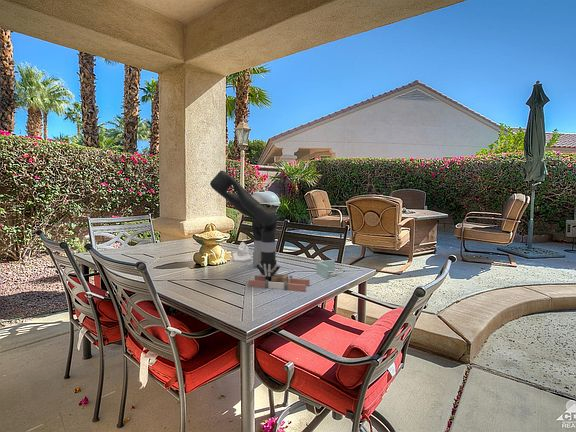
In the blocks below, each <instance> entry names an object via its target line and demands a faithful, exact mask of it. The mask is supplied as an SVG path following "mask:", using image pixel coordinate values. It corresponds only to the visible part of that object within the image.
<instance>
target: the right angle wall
mask: <svg viewBox="0 0 576 432" xmlns="http://www.w3.org/2000/svg"><path fill="white" fill-rule="evenodd" d="M315 266H316V271H315V273H316V274H317V275H319V276H320V277H322V278H324V279H326V280H328V279H329V277H330V278H331V277H334V278H335V277H336V275H337V273H336V259H329V260H327V259H326V260H320V261H316V265H315Z"/></svg>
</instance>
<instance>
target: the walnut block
mask: <svg viewBox="0 0 576 432" xmlns="http://www.w3.org/2000/svg"><path fill="white" fill-rule="evenodd" d="M288 278H289V274H279V273H275V274H274V276H273V277H272V282H281V283H284V281H287V283H288Z"/></svg>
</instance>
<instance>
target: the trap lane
mask: <svg viewBox="0 0 576 432" xmlns="http://www.w3.org/2000/svg"><path fill="white" fill-rule="evenodd" d="M274 275H275V274H274ZM274 275H273V276H274ZM273 276H271V282H269V281H268V280H265V276H264V275H262V274H261V275H258V274H254V279H248V280H247V283H248V285H247V286H248V287H252V286H253V287H254V288H264V289H276V290H284V291H294V292H295V291H296V292H306V291H307V286H308V287H310V286H311V285H310V279H309V278H308V279H306V278H293V275H288V283H287V281H284V283H281V282H272V277H273Z"/></svg>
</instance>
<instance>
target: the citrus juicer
mask: <svg viewBox="0 0 576 432" xmlns="http://www.w3.org/2000/svg"><path fill="white" fill-rule="evenodd" d="M232 260H233V263H242V264H243V263H244V264H245V263H247V262H251V261H252V257H251V255H250V253H249V246H248V245H247V244H246V243H245V242H244V241H242V242H240V244H239V246H238V247H237V249H236V252H233V253H232Z"/></svg>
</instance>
